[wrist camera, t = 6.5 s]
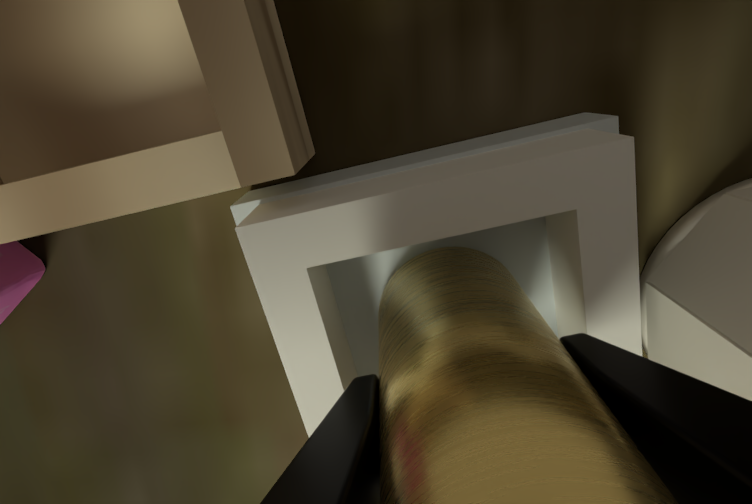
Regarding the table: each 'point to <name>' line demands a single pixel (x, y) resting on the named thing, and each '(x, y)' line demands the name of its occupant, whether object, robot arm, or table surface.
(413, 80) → the table surface
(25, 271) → the gum box
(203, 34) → the trough
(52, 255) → the table surface
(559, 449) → the brass cell
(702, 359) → the white octagonal prism
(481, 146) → the cradle
